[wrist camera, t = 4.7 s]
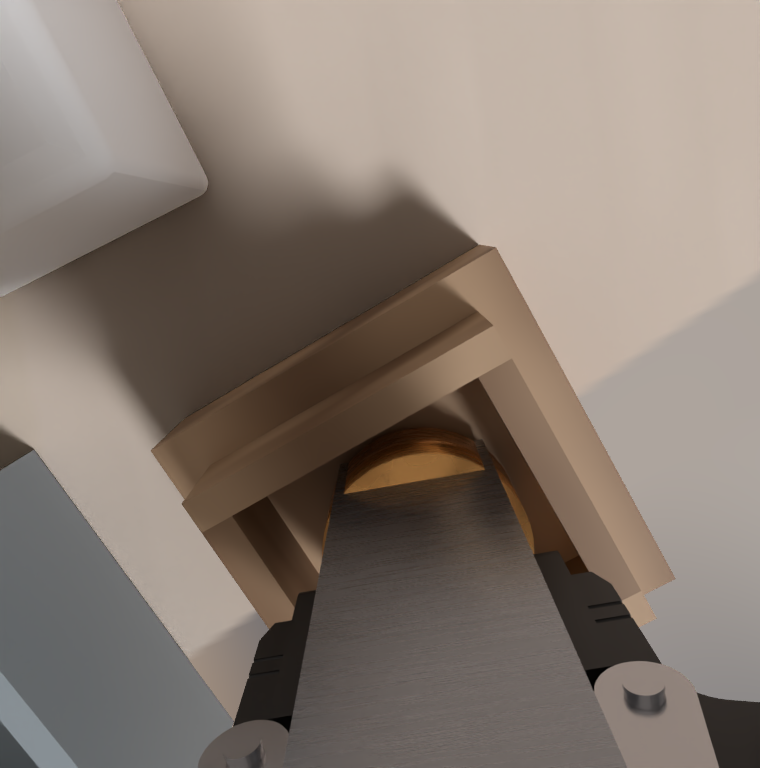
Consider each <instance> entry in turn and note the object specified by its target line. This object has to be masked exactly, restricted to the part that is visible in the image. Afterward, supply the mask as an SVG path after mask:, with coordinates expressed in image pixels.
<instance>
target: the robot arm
mask: <svg viewBox="0 0 760 768" xmlns="http://www.w3.org/2000/svg"><path fill="white" fill-rule="evenodd" d="M533 555H534V557H535V559H536V562H537V564H538V566H539V568H540V571H541V573H542V575H543V577H544V580H545V582H546V584H547V586H548V589H549V591H550V593H551V596H552V598H553V600H554V602H555V605H556V607H557V609H558V611H559V614H560V616H561V618H562V620H563V623H564V625H565V627H566V630H567V632H568V634H569V636H570V639H571V641H572V643H573V645H574V648H575V650H576V652H577V654H578V657H579V659H580V661H581V664H582V666H583V668H584V670H585V673H586V675H587V677H588V679H589V682H590V684H591V686H592V689H593V691H594V693H595V695H596V698H597V700H598V702H599V704H600V707H601V709H602V711H603V713H604V716H605V718H606V720H607V723H608V725H609V727H610V729H611V732H612V734H613V736H614V738H615V741H616V743H617V745H618V747H619V750H620V752H621V754H622V757H623V759H624V761H625V763H626V766H627V768H760V702H747V701H734V700H724V699H718V698H713V697H708V696H705V695H702V694H699V693H697V692H696V690H695V688H694V686H693V684H692V683H691V682H690V680H688V679H687V678H686V677H685V676H684V675H683V674H681V673H680V672H678V671H676V670H675V669H673V668H671V667H668V666H665V665H662V664H661V662H660V660H659V659H658V657H657V656H656V654H655V653H654V651H653V649H652V648H651V646H650V644H649V643H648V641H647V640H646V638H645V637H644V635H643V633H642V632H641V630H640V629H639V627H638V625H637V624H636V622H635V621H634V619H633V618H631V614H630V613H629V611H628V609H627V608H626V606H625V605H624V604H623V603H622V600H621V598H620V597H619V595H618V593H617V592H616V590H615V589H614V587H613V585H612V584H611V583H609V582H608V581H606V580H604V579H603V578H601V577H600V576H598V575H596V574H595V573H593V572H585V573H579V574H573V575H571V574H570V572H569V570H568V568H567V566H566V564H565V563H564V561H563V559H562V557H561V555H560V553H559V552H558V551H557V550H556V551H550V552H544V553H538V554H533ZM315 594H316V590H313V591H307V592H301V593H299V594H298V596H297V600H296V605H295V609H294V613H293V617H292V620H290V621H284V622H278V623H275V624H274V625H273V626H272V627H271V628H270V629H269V631H268V632H267V633H266V634H265V635H264V636H263V637H262V638H261V640H260V641H259V644H258V647H257V651H256V654H255V657H254V663H253V664H252V667H251V670H250V673H249V679H248V680H247V683H246V686H245V689H244V693H243V696H242V699H241V702H240V706H239V709H238V712H237V715H236V718H235V722H234V725H233V727H232V728H230V729H228V730H227V731H225V732H223V733H222V734H220V735H219V736H218V737H217V738H215V739H214V740H213V741H212V742H211V743H210V744H209V745H208V747H207V748H206V749H205V750H204V752H203V754H202V755H201V757H200V760H199V762H198V768H283V763H284V758H285V752H286V747H287V742H288V737H289V731H290V726H291V721H292V715H293V710H294V705H295V700H296V694H297V689H298V684H299V678H300V673H301V668H302V663H303V657H304V652H305V647H306V641H307V636H308V631H309V625H310V620H311V615H312V610H313V604H314V599H315Z"/></svg>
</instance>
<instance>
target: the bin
mask: <svg viewBox="0 0 760 768" xmlns="http://www.w3.org/2000/svg"><path fill="white" fill-rule="evenodd" d="M233 722H234V721H233V720H232V718H231V717H230V716H229V714H228V713H227V712H226V710H225V709H224V708H223V706H222V705H221V703H220V702H219V701H218V699H217V698H216V697H215V695H214V694H213V693H212V691H211V690H210V688H209V687H208V686H207V684H206V683H205V682H204V681H203V679H202V678H201V676H200V675H199V674H198V672H197V671H196V669H195V668H194V667H193V665H192V664H191V663H190V661H189V660H188V658H187V657H186V656H185V654H184V653H183V652H182V650H181V649H180V648H179V646H178V645H177V644H176V642H175V641H174V639H173V638H172V637H171V635H170V634H169V633H168V631H167V630H166V629H165V627H164V626H163V624H162V623H161V622H160V620H159V619H158V618H157V616H156V615H155V614H154V612H153V611H152V610H151V608H150V607H149V605H148V604H147V603H146V601H145V600H144V599H143V597H142V596H141V595H140V593H139V592H138V590H137V589H136V588H135V586H134V585H133V584H132V582H131V581H130V580H129V578H128V577H127V576H126V574H125V573H124V571H123V570H122V569H121V567H120V566H119V565H118V563H117V562H116V561H115V559H114V558H113V557H112V555H111V554H110V552H109V551H108V550H107V548H106V547H105V546H104V544H103V543H102V542H101V540H100V539H99V537H98V536H97V535H96V533H95V532H94V531H93V529H92V528H91V527H90V525H89V524H88V523H87V521H86V520H85V518H84V517H83V516H82V514H81V513H80V512H79V510H78V509H77V508H76V506H75V505H74V503H73V502H72V501H71V499H70V498H69V497H68V495H67V494H66V493H65V491H64V490H63V489H62V487H61V486H60V484H59V483H58V482H57V480H56V479H55V478H54V476H53V475H52V474H51V472H50V471H49V470H48V468H47V467H46V465H45V464H44V463H43V461H42V460H41V459H40V457H39V456H38V455H37V453H36V452H35V450H33V451H31V452H29V453H28V454H26V455H24V456H23V457H21V458H19V459H18V460H16V461H14V462H13V463H11V464H9V465H8V466H6V467H5V468H3V469H1V470H0V768H198V762H199V760H200V757H201V755H202V754H203V752H204V750H205V749H206V748H207V747H208V745H209V744H210V743H211V742H212V741H213V740H214V739H215V738H217V737H218V736H219V735H220V734H222V733H223V732H225V731H227V730H228V729H230V728H232V725H233Z"/></svg>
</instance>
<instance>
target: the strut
mask: <svg viewBox="0 0 760 768" xmlns="http://www.w3.org/2000/svg"><path fill="white" fill-rule="evenodd" d="M533 554H534V538H533V533H532V529H531V525H530V522H529V519H528V517H527V514H526V512H525V510H524V508H523V506H522V503H521V501H520V499H519V497H518V495H517V493H516V491H515V489H514V487H513V485H512V483H511V480H510V479H509V477H508V475H507V473H506V471H505V469H504V468H503V467H502V465H501V464H500V463H499V461H498V460H497V459H496V458H495V457H494V456H493V455H492V454H491V453H490V452H489V451H488V450H487V448H486V446H485V444H484V441H483V439H480V440H475V441H473V440H472V439H470V438H468V437H466V436H463V435H461V434H459V433H456V432H452V431H448V430H445V429H438V428H411V429H405V430H401V431H396V432H393V433H390V434H388V435H385V436H383V437H381V438H379V439H377V440H375V441H373V442H371V443H370V444H369V445H367V446H366V447H364V448H363V449H362V450H360V451H359V452H358V453H357V454H356V455H355V456H354V457H353V458H352V459H351V460H350V462H349V463H344V464H340V467H339V472H338V477H337V482H336V485H335V487H334V490H333V493H332V497H331V501H330V506H329V511H328V516H327V521H326V526H325V531H324V537H323V544H322V562H321V567H320V573H319V578H318V583H317V588H316V594H315V599H314V604H313V610H312V615H311V620H310V625H309V631H308V636H307V641H306V647H305V652H304V657H303V663H302V668H301V673H300V678H299V684H298V689H297V694H296V700H295V705H294V710H293V715H292V721H291V726H290V731H289V737H288V742H287V747H286V752H285V758H284V763H283V768H627V766H626V763H625V761H624V759H623V757H622V754H621V752H620V750H619V747H618V745H617V743H616V741H615V738H614V736H613V734H612V732H611V729H610V727H609V725H608V723H607V720H606V718H605V716H604V713H603V711H602V709H601V707H600V704H599V702H598V700H597V698H596V695H595V693H594V691H593V689H592V686H591V684H590V682H589V679H588V677H587V675H586V673H585V670H584V668H583V666H582V664H581V661H580V659H579V657H578V654H577V652H576V650H575V648H574V645H573V643H572V641H571V639H570V636H569V634H568V632H567V630H566V627H565V625H564V623H563V620H562V618H561V616H560V614H559V611H558V609H557V607H556V605H555V602H554V600H553V598H552V596H551V593H550V591H549V589H548V586H547V584H546V582H545V580H544V577H543V575H542V573H541V571H540V568H539V566H538V564H537V562H536V559H535V557H534V555H533Z"/></svg>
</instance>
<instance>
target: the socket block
mask: <svg viewBox="0 0 760 768" xmlns="http://www.w3.org/2000/svg"><path fill="white" fill-rule="evenodd" d="M411 428H438V429H445V430H448V431H452V432H456V433H459V434H461V435H463V436H466V437H468V438H470V439H472V440H473V441H475V440H480V439H483V441H484V444H485V446H486V448H487V450H488V451H489V452H490V453H491V454H492V455H493V456H494V457H495V458H496V459H497V460H498V461H499V463H500V464H501V465H502V467H503V468H504V469H505V471H506V473H507V475H508V477H509V479H510V480H511V483H512V485H513V487H514V489H515V491H516V493H517V495H518V497H519V499H520V501H521V503H522V506H523V508H524V510H525V512H526V514H527V517H528V519H529V522H530V525H531V529H532V533H533V538H534V554H538V553H544V552H550V551H556V550H557V551H558V552H559V553H560V555H561V557H562V559H563V561H564V563H565V564H566V566H567V568H568V570H569V572H570V574H571V575H573V574H579V573H585V572H593V573H595V574H596V575H598V576H600V577H601V578H603V579H604V580H606V581H608V582H609V583H611V584H612V585H613V587H614V589H615V590H616V592H617V593H618V595H619V597H620V598H621V600H622V603H623V604H624V605H625V606H626V608H627V609H628V611H629V613H630V614H631V618H633V619H634V621H635V622H636V624H637V625H638V627H640V626H642V625H644V624H646V623H648V622H650V621H652V620H654V619H656V616H655V615H654V613H653V611H652V609H651V607H650V606H649V604H648V602H647V600H646V598H645V597H644V595H645V594H646V593H648V592H650V591H652V590H654V589H656V588H658V587H660V586H662V585H664V584H666V583H668V582H670V581H672V580H674V579H675V577H674V575H673V573H672V571H671V569H670V568H669V566H668V564H667V562H666V560H665V559H664V556H663V555H662V553H661V551H660V549H659V547H658V545H657V544H656V542H655V540H654V538H653V536H652V534H651V532H650V531H649V529H648V527H647V525H646V524H645V521H644V520H643V518H642V516H641V514H640V512H639V510H638V509H637V507H636V505H635V503H634V501H633V499H632V497H631V496H630V494H629V492H628V490H627V488H626V487H625V484H624V483H623V481H622V479H621V477H620V475H619V473H618V472H617V470H616V468H615V466H614V464H613V462H612V461H611V459H610V457H609V455H608V453H607V451H606V449H605V448H604V446H603V444H602V442H601V440H600V438H599V437H598V435H597V433H596V431H595V429H594V427H593V425H592V424H591V422H590V420H589V418H588V416H587V414H586V413H585V411H584V409H583V407H582V405H581V403H580V402H579V400H578V398H577V396H576V394H575V392H574V390H573V389H572V387H571V385H570V383H569V381H568V379H567V377H566V376H565V374H564V372H563V370H562V368H561V366H560V365H559V363H558V361H557V359H556V357H555V355H554V353H553V352H552V350H551V348H550V346H549V344H548V342H547V341H546V339H545V337H544V335H543V333H542V331H541V329H540V328H539V326H538V324H537V322H536V320H535V318H534V317H533V315H532V313H531V311H530V309H529V307H528V305H527V304H526V302H525V300H524V298H523V296H522V294H521V293H520V291H519V289H518V287H517V285H516V283H515V282H514V280H513V278H512V276H511V274H510V272H509V270H508V269H507V267H506V265H505V263H504V261H503V259H502V258H501V256H500V254H499V252H498V250H497V248H495V247H490V246H484V245H478V246H476V247H474V248H473V249H471V250H469V251H468V252H466V253H464V254H463V255H461V256H459V257H457V258H456V259H454V260H452V261H451V262H449V263H447V264H446V265H444V266H442V267H441V268H439V269H437V270H435V271H434V272H432V273H430V274H429V275H427V276H425V277H424V278H422V279H420V280H419V281H417V282H415V283H413V284H412V285H410V286H408V287H407V288H405V289H403V290H402V291H400V292H398V293H396V294H395V295H393V296H391V297H390V298H388V299H386V300H385V301H383V302H381V303H380V304H378V305H376V306H374V307H373V308H371V309H369V310H368V311H366V312H364V313H363V314H361V315H359V316H358V317H356V318H354V319H352V320H351V321H349V322H347V323H346V324H344V325H342V326H341V327H339V328H337V329H335V330H334V331H332V332H330V333H329V334H327V335H325V336H324V337H322V338H320V339H319V340H317V341H315V342H313V343H312V344H310V345H308V346H307V347H305V348H303V349H302V350H300V351H298V352H296V353H295V354H293V355H291V356H290V357H288V358H286V359H285V360H283V361H281V362H280V363H278V364H276V365H274V366H273V367H271V368H269V369H268V370H266V371H264V372H263V373H261V374H259V375H258V376H256V377H254V378H252V379H251V380H249V381H247V382H246V383H244V384H242V385H241V386H239V387H237V388H235V389H234V390H232V391H230V392H229V393H227V394H225V395H224V396H222V397H220V398H219V399H217V400H215V401H213V402H212V403H210V404H208V405H207V406H205V407H203V408H202V409H200V410H198V411H197V412H195V413H193V414H191V415H190V416H188V417H186V418H185V419H184V420H183V421H182V422H180V423H179V424H178V425H177V426H176V427H175V428H174V429H173V430H172V431H171V432H170V433H169V434H168V435H167V436H166V437H165V438H163V439H162V440H161V441H160V442H159V443H158V444H157V445H156V446H155V447H154V448H153V449H152V450H151V452H152V453H153V455H154V456H155V458H156V459H157V460H158V462H159V463H160V465H161V466H162V468H163V469H164V471H165V472H166V473H167V475H168V476H169V478H170V479H171V481H172V482H173V483H174V485H175V486H176V488H177V489H178V491H179V492H180V493H181V495H182V496H183V498H184V499H185V500H184V501H183V503H182V505H183V507H184V508H185V510H186V511H187V512H188V514H189V515H190V517H191V518H192V520H193V521H194V522H195V524H196V525H197V527H198V528H199V530H200V531H201V532H202V534H203V535H204V537H205V538H206V540H207V541H208V542H209V544H210V545H211V547H212V548H213V550H214V551H215V552H216V554H217V555H218V557H219V558H220V560H221V561H222V562H223V564H224V565H225V567H226V568H227V570H228V571H229V573H230V574H231V575H232V577H233V578H234V580H235V581H236V583H237V584H238V585H239V587H240V588H241V590H242V591H243V593H244V594H245V595H246V597H247V598H248V600H249V601H250V603H251V604H252V605H253V607H254V608H255V610H256V611H257V613H258V614H259V615H260V617H261V618H262V620H263V621H264V622H265V624H266V625H267V627H268V628H269V629H270V628H271V627H272V626H273V625H274V624H275V623H278V622H284V621H290V620H292V617H293V613H294V609H295V605H296V600H297V596H298V594H299V593H301V592H307V591H313V590H316V588H317V583H318V578H319V573H320V567H321V562H322V544H323V537H324V531H325V526H326V521H327V516H328V511H329V506H330V501H331V497H332V493H333V490H334V487H335V485H336V482H337V477H338V472H339V467H340V464H344V463H349V462H350V460H351V459H352V458H353V457H354V456H355V455H356V454H357V453H358V452H359V451H360V450H362V449H363V448H364V447H366V446H367V445H369V444H370V443H371V442H373V441H375V440H377V439H379V438H381V437H383V436H385V435H388V434H390V433H393V432H396V431H401V430H405V429H411Z"/></svg>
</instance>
